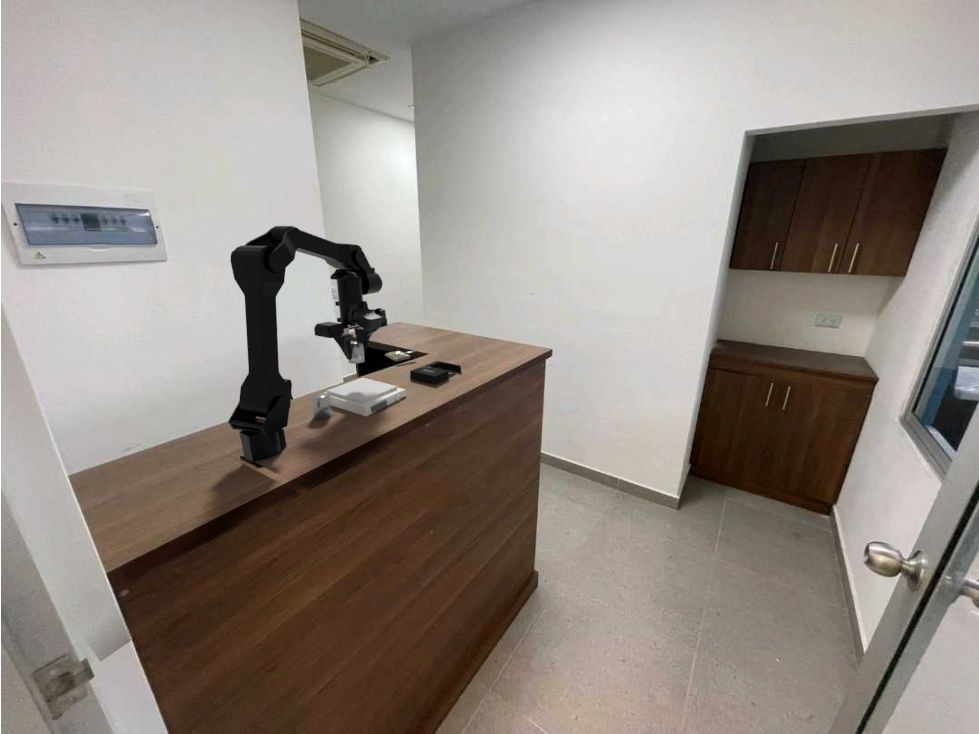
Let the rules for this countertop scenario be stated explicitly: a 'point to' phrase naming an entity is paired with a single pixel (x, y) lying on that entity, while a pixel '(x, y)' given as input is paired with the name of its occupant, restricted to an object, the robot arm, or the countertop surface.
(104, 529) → the countertop surface
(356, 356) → the spacer
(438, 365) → the battery charger
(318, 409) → the spacer
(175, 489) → the countertop surface
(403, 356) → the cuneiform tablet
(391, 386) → the scale
